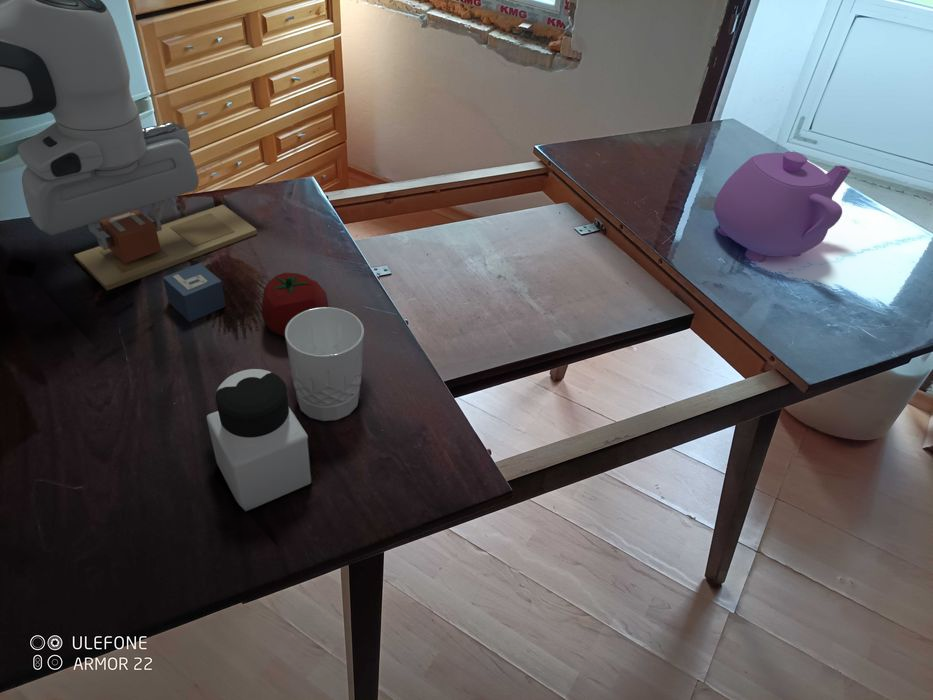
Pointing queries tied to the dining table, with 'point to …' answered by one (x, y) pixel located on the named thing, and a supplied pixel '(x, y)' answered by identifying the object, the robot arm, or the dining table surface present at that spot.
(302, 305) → the tomato
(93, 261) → the word board
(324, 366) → the white cup
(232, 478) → the medicine bottle
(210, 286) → the tile
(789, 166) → the teapot
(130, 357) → the dining table surface
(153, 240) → the tile
